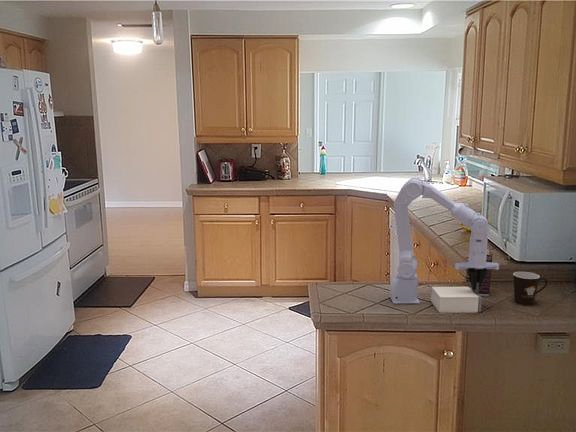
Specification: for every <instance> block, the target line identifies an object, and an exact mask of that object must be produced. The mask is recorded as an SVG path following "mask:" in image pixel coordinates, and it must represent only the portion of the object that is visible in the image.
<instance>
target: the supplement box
mask: <svg viewBox="0 0 576 432" xmlns="http://www.w3.org/2000/svg"><path fill="white" fill-rule="evenodd" d="M486 262H490V263H493V254H492V252H491V251H490V250H489V249H487V255H486ZM475 270H476V269H475ZM486 270H487V271H488V273H487V275H486V276H485V278H484V279H483V281H482V284H481V286H480V290H479V292H478V294H479V295H480V296H481V297H490V292H491V291H490V289H491V278H492V269H486Z"/></svg>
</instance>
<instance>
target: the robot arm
mask: <svg viewBox="0 0 576 432" xmlns="http://www.w3.org/2000/svg"><path fill="white" fill-rule="evenodd" d="M420 197H421V199H431V200H433V201H434V202H436V203H437V204H438V205H441V206H442V207H443V208H445V209H447V210H449V212H450V215H451V217H452V218H454V220H456V221H458V222H459V223H461V224H462V225H464V226H465V227H468V228H470V231H471V232H470V237H469V249H468V261H464V262H463V261H462V262H455V263H454V269H455V270H456V271H460V270H465V271H466V272H467V275H468V278H469V280H470V281H469V282H470V285H471V288H472V289H473V290H475V289H476V281H477V282H479V290H480V286H481V284H482V281H483V279H484V278H485V276H486V275H487V273H488V271H487V270H486V269H491V270H495V271H499V269H500V263H499V262H492V263H490V262H486V255H487V250H488V236H489V233H488V232H490V231H489V230H490V224H489V221H488V219H487V218H486V217H485V215H483V214H481V213H480V212H476V211H474V210H473V209H472V208H470V207H469V204H468V203H466V202H465V203H462V202H455V201H453V200H452V198H449V197H448V196H446V195H445V193H443V192H441V191H440V190H438V189H437V188H436V187H434V186H433V185H432V184H430V183H428V182H427V181H423V180H422V179H421V178H419V177H412V178H410V179H409V180H407V181H406V182H405V183H404V184H403V185H402V187H401V188H400V190H399V192H398V194H397V196H396V197H395V199H394V201H393V209H394V210H393V211H394V217H395V219H394V220H395V226H396V235H397V236H396V237H397V243H398V249H399V252H398V259H399V260H398V261H399V263H398V267H397V275H394V276H391V277H390V284H389V298H390V300H391V301H392V303H393V304H421V302H420V299H418V282H419V280H418V279H419V275H418V274H417V273H416V272H417V269H418V265H419V263H418V260H417V258H416V257H415V252H414V250H413V241H412V232H411V225H410V224H411V222H410V215H409V207H408V206H410V204H411V203H413V202H414V200H417V199H418V198H420ZM475 269H476V270H475Z"/></svg>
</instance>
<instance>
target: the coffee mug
mask: <svg viewBox="0 0 576 432" xmlns="http://www.w3.org/2000/svg"><path fill="white" fill-rule="evenodd" d="M512 276H513V296H514V297H513V298H514V299H513V300H514V303H516V304H518V305H522V306H533V305H534V304H535V299H536V296H537V294H538V293H540V292H541V291H543V290H544V289H545V288H546V287H547V286H548V279H546V278H544V277H541V276H540V275H539V274H536V273H535V272H529V271H528V272H527V271H515V272H513V274H512ZM543 280H544V282H545V284H544V285H543V287H541V288H540V289H538V286H539V282H540V281H543Z"/></svg>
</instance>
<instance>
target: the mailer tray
mask: <svg viewBox="0 0 576 432" xmlns="http://www.w3.org/2000/svg"><path fill="white" fill-rule="evenodd" d="M468 287H469V288H470V289H471V290H472V291H473V292H474V293H475V294H476V295H477V296H478V297H479V301H478V313H480V312H481V313H482V301H483V296H480V295H479V294H478V292H479V282H477V281H476V289H475V290H473V289H472V288H471V287H470V286H468Z"/></svg>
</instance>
